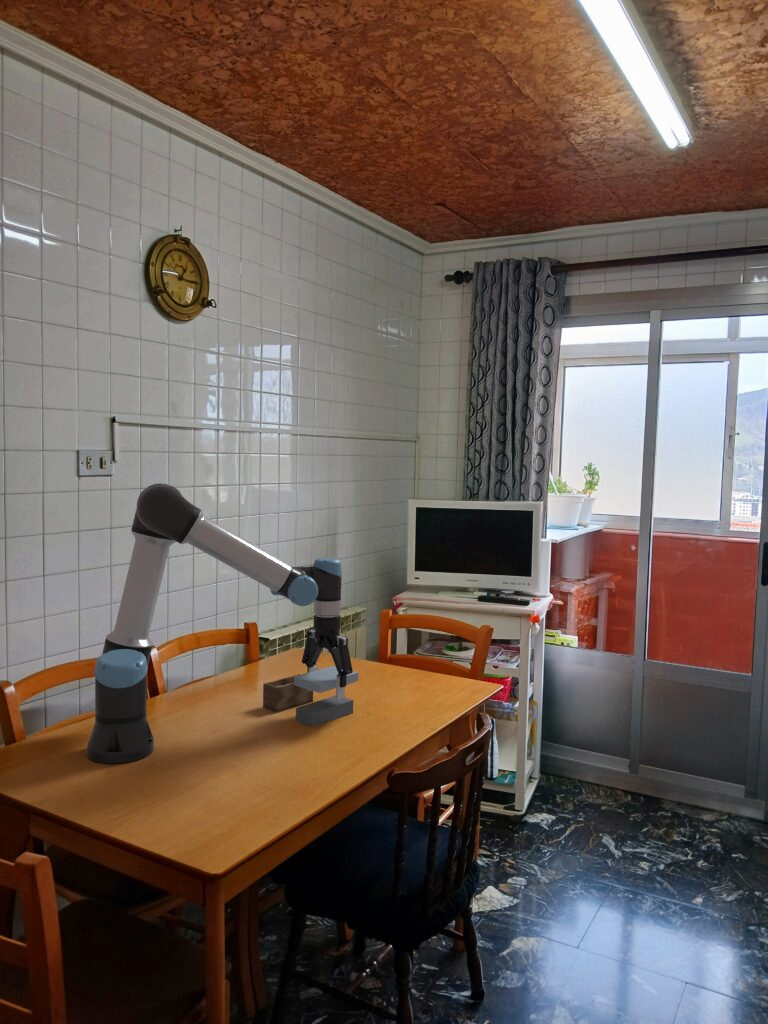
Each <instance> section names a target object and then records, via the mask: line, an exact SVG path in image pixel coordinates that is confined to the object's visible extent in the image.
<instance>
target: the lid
mask: <svg viewBox="0 0 768 1024" xmlns="http://www.w3.org/2000/svg"><path fill="white" fill-rule="evenodd" d="M342 671H343V670H342ZM297 675H298V674H297ZM336 675H338V671H337V669H336V666H335V665H331V666H327V667H323V668H320V669H317V670H316V671H312V672H309V673H307V672H306V673H302V674H301V675H298V676H294V675H293V676H294V685H295V686H299V687H302V688H305V689H308V690H312V691H313V692H316V693H318V694H321V693H324V692H328V691H330V690H331V691H332V690H335V689H336ZM356 682H359V672H357V671H354V670H353V672H352V673H351V674H347V679H346V686H347V685H350V684H352V683H356Z"/></svg>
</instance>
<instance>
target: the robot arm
mask: <svg viewBox="0 0 768 1024" xmlns="http://www.w3.org/2000/svg"><path fill="white" fill-rule="evenodd" d="M132 521H133V522H132V526H131V529H130V531H131V534H132V536H133V537H134V544H133V548H132V554H131V558H130V562H129V565H128V570H127V574H126V578H125V583H124V587H123V591H122V595H121V600H120V605H119V608H118V612H117V617H116V621H115V625H114V629H113V630H112V631H111V632H109V633H108V634H106V636H105V640H104V644H103V649H102V652H101V654H100V655H99V656H98V657H97V659H96V661H95V666H94V671H93V672H94V673H93V674H94V677H95V679H94V684H95V685H94V690H95V691H94V692H95V693H94V697H95V699H94V700H95V701H94V713H95V715H94V716H95V717H94V725H93V728H92V730H91V733H90V736H89V739H88V742H87V744H86V745H87V746H86V751H87V752H86V756H87V758H88V759H89V760H91V761H93V762H97V763H101V764H125V763H129V762H134V761H138V760H141V759H144V758H146V757H148V756H149V755H150V754H152V753H153V751H154V749H155V739H154V736H153V733H152V729H151V728H150V727H151V726H150V724H149V721H148V718H147V716H148V715H147V714H148V713H147V711H148V710H147V708H148V707H147V704H148V703H147V697H148V695H147V694H148V692H147V691H148V690H147V689H148V688H147V686H148V685H147V684H148V678H147V675H148V668H149V667H148V666H149V663H150V659H151V658H150V657H151V654H152V650H153V645H154V643H153V641H152V639H151V638H150V637H149V635H150V632H151V628H152V624H153V619H154V615H155V610H156V606H157V602H158V598H159V593H160V589H161V585H162V581H163V577H164V571H165V568H166V563H167V560H168V556H169V551H170V547H171V546H172V545H173V544H175V543H178V544H180V545H184V544H189V545H191V546H192V547H193V548H196V549H198V550H200V551H202V552H203V553H205V554H207V555H209V556H210V557H212V558H214V559H216V560H217V561H219V562H221V563H223V564H225V565H227V566H228V567H230V568H232V569H234V570H235V571H238V572H239V573H241V574H243V575H245V576H246V577H248V578H250V579H252V580H254V581H255V582H257V583H260V585H263V586H265V587H266V588H268V589H269V590H270V594H271V595H273V596H281V597H284V598H286V599H287V600H289V601H290V602H291V603H292V604H294V605H297V606H300V607H307V606H309V605H312V604H313V614H314V615H313V629H310V630H307V631H306V641H305V645H304V649H303V653H302V659H301V663H302V664H303V665H304V664H305V665H306V667H307V671H306V673H309V672H312V671H316V670H318V664H317V662H318V661H319V657H320V656H321V654H322V652H323V649H324V648H325V650H327V651H328V653H330V655H331V657H332V660H333V663H334V666H335V667H336V669H337V671H338V675H336V688H335V696H336V699H337V700H338V699H341V698H344V697H345V696H346V695H345V694H346V693H345V692H346V687H347V685H346V679H347V674H351V673H352V672H353V671H354V670H353V666H352V661H351V654H350V650H349V645H348V644H349V638H348V636H344V637H343V636H341V635H340V630H341V627H342V620H341V619H342V616H341V613H342V582H343V581H342V577H343V575H342V572H343V571H342V561H340V560H339V559H338V558H335V557H321V558H319V557H318V558H316V559H315V560H314V561H313V565H310V566H291V565H290V564H289V563H286V562H285V561H283V560H282V559H279V558H278V557H276V556H274V555H272V554H271V553H270V552H267V551H265V550H264V549H262V548H261V547H259V546H257V545H255V544H254V543H251V542H250V541H248V540H246V539H245V538H242V537H241V536H240V535H238V534H236V533H234V532H233V531H230V530H229V529H227V528H225V527H224V526H222V525H220V524H218V523H217V522H215V521H214V520H211V519H210V518H208V517H206V516H205V515H204V512H203V509H201V508H199V507H197V506H196V505H194V504H192V503H191V502H190V501H188V500H187V499H186V498H185V497H184V496H183V495H182V493H181V492H180V490H179V489H177V488H176V487H175V486H172V485H169V484H168V483H162V482H161V483H153V484H151V485H149V486H147V487H146V488H144V489H143V490H142V491H141V492H140V493H139V496H138V497H137V501H136V508H135V512H134V518H133V520H132ZM342 670H343V671H342ZM308 691H312V690H308ZM345 698H346V697H345Z"/></svg>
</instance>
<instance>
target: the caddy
mask: <svg viewBox="0 0 768 1024" xmlns="http://www.w3.org/2000/svg"><path fill="white" fill-rule="evenodd" d="M298 675H302V674H300V673H298V674H294V675H291V676H286V677H283V678H279V679H276V680H272V681H268V682H265V683H264V682H263V685H262V695H263V696H262V708H263V709H266V710H268V711H271V712H275V713H280V712H284V711H286V710H287V711H288V710H290V709H293V708H297V707H300V706H304V705H307V704H310V703H313V702H314V691H308V689H305V688H302V687H299V686H295V685H294V676H298Z"/></svg>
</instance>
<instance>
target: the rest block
mask: <svg viewBox="0 0 768 1024" xmlns="http://www.w3.org/2000/svg"><path fill="white" fill-rule="evenodd" d="M353 713H354V699H351V698H347V697H344V698H341V699H338V700H337V699H336V695H333V696H330V697H326V698H324V699H321V700H317V701H313V702H310V703H307V704H303V705H300V706H297V707H295V722H297V723H300V724H303V725H305V726H309V727H311V728H314V727H317V726H319V725H322V724H326V723H328V722H332V721H334V720H336V719H339V718H343V717H345V716H348V715H351V714H353Z"/></svg>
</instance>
